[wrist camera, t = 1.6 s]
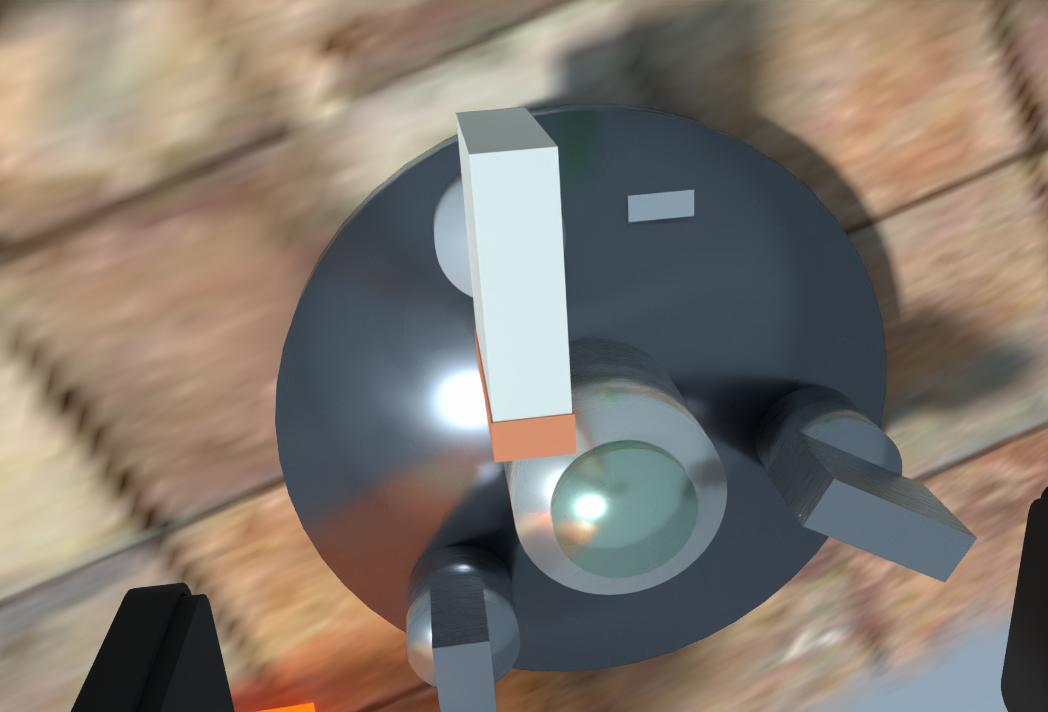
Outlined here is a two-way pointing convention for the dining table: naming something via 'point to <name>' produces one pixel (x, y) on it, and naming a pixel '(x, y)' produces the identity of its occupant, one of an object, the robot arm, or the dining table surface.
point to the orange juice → (294, 708)
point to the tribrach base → (618, 282)
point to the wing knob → (512, 277)
